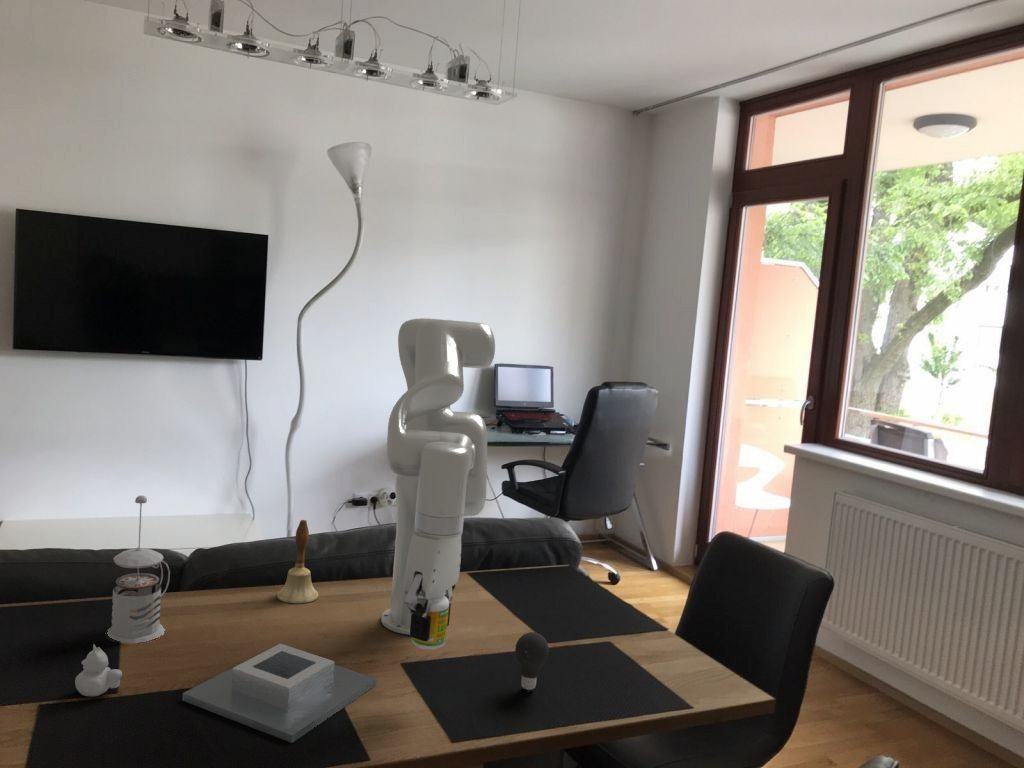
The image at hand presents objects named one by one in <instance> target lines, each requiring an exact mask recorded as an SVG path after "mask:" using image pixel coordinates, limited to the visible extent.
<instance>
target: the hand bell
mask: <svg viewBox="0 0 1024 768" xmlns="http://www.w3.org/2000/svg"><path fill="white" fill-rule="evenodd" d="M307 522H308V521H307V520H306V519H300V521H299V524H298V526H297V529H296V532H295V545H296V558H295V565H294V567H292V568H290V569H289V570H288V572H287V577H286V581H285V584H284V586H283V587H282V589H280V590H279V591H278V592H277V594H276V597H277V599H278V600H280V601H281V602H284V603H290V604H305V603H306V604H307V603H311V602H313V601H316V600H317V599H318V598H319V592H318V591H317V590H316V589H315V588H314V586H313V583H312V576H311V571H310V569H308V568H306V566H305V553H306V548H307V545H308V542H309V538H310V536H309V535H310V533H309V532H310V531H309V527H308V523H307Z"/></svg>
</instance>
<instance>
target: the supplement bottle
mask: <svg viewBox="0 0 1024 768" xmlns="http://www.w3.org/2000/svg"><path fill="white" fill-rule="evenodd" d="M420 593H421V594H423V595H425V592H424V591H420ZM445 594H446V591H444V592H443V593H441V594H440V595H438V596H436V597H434V598H433V599H432V603H431V607H430V611H429V615H428V616H431V622H430V634H429V640H428V641H422V640H419V639H416V638H413V637H411V642H412V644H413V645H414V646H416V647H417V648H419V649H422V650H437V649H439V648H441V649H442V647H444V646H445V644H446V641H447V631H448V626H447V622H448V611H449V603H450V602H449V600H448V598H447V597H446V596H444V595H445ZM425 601H426V600H422V599H419V603H420V604H422V606H423V607H424V605H425Z"/></svg>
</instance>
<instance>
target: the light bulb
mask: <svg viewBox="0 0 1024 768" xmlns="http://www.w3.org/2000/svg"><path fill="white" fill-rule="evenodd" d="M549 648H550V647H549V644H548V641H547V640H546V639H545V637H544V636H543V635H542V634H540V633H539V632H534V631H533V632H531V631H530V632H526V633H524V634H522V635H521V636H520V637H519V638H518V640H517V642H516V644H515V652H514V653H515V657H516V659H517V662H518V664H519V666H520V673H521V682H520V684H521V687H522V688H523V689H524V690H525V689H526V690H531V691H532V690H534V689H535V688H536V687H537V686H536V685H537V678H538V676H539V673H540V670H541V669H542V667H543V666H544V664H545V662H546V661H547V659H548V656H549V652H550V650H549ZM526 690H525V691H526Z"/></svg>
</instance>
